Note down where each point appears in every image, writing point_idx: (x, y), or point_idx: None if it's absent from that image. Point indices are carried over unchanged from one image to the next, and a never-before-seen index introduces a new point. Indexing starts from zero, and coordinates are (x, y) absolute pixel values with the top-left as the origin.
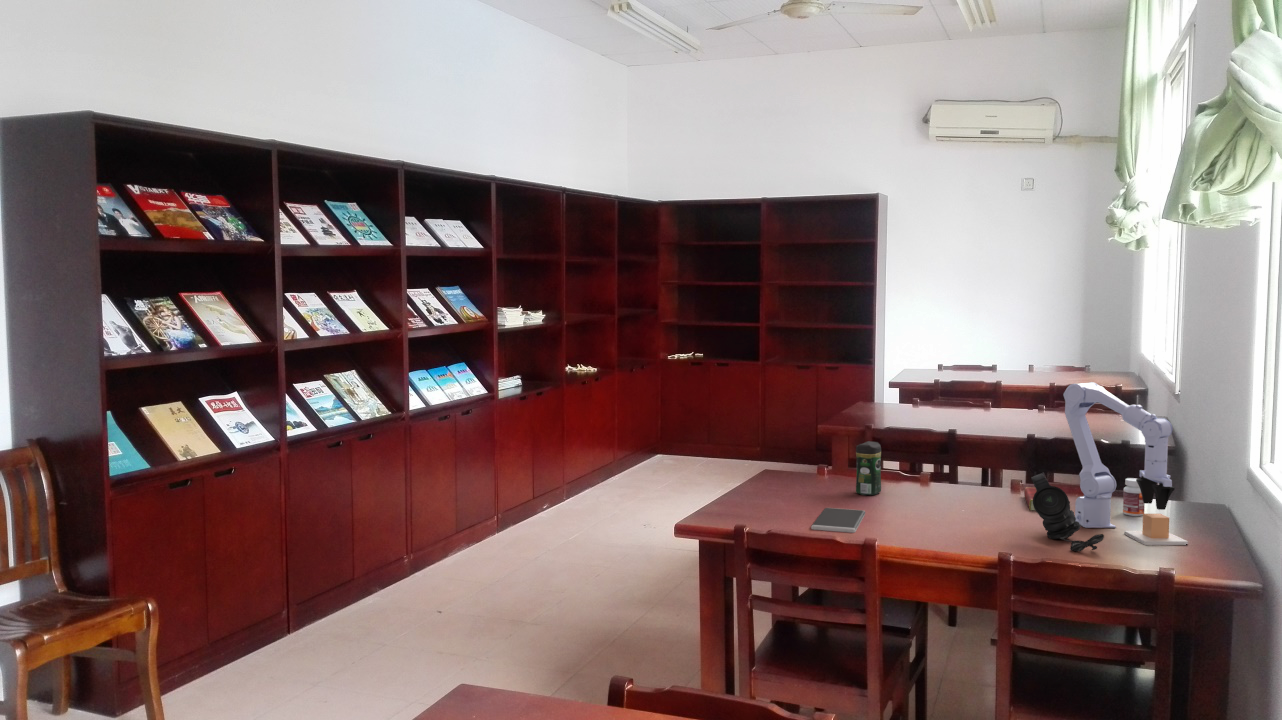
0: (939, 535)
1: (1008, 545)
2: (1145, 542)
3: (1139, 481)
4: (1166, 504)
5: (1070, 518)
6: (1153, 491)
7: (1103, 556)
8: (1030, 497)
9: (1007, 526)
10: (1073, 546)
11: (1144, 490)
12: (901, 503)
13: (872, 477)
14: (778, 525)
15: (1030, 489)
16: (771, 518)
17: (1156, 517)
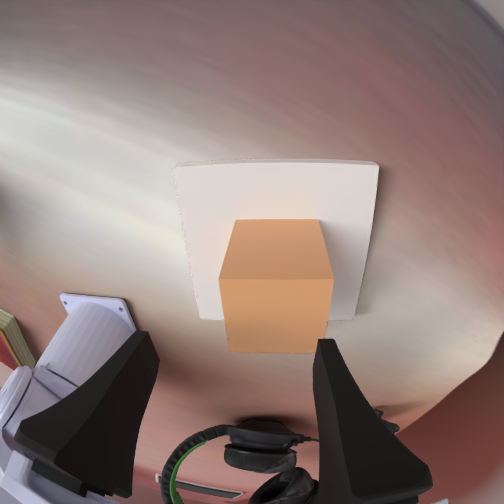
0: (250, 475)
1: (306, 458)
2: (352, 315)
3: (130, 493)
4: (345, 365)
5: (292, 465)
6: (108, 391)
7: (407, 399)
8: (13, 369)
9: (179, 437)
10: None
11: (133, 430)
12: None
13: None
14: (223, 498)
15: None
16: (200, 495)
17: (321, 335)
